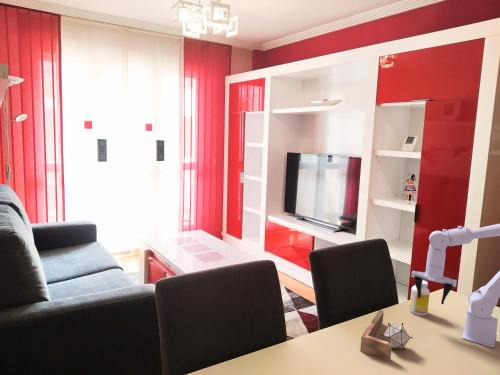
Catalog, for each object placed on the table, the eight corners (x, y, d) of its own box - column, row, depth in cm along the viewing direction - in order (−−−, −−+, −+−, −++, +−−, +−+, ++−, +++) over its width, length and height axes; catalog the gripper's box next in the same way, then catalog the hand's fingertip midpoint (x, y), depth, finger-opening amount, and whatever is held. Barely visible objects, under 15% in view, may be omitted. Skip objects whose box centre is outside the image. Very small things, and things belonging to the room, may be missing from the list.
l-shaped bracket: (403, 330, 134) (405, 316, 134) (389, 361, 115) (391, 345, 114) (378, 322, 139) (379, 309, 138) (360, 351, 119) (361, 335, 119)
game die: (399, 361, 121) (411, 349, 114) (374, 345, 124) (384, 332, 117) (407, 339, 127) (419, 326, 120) (383, 325, 130) (393, 311, 123)
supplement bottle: (431, 315, 148) (434, 283, 146) (418, 317, 145) (422, 285, 143) (417, 307, 154) (421, 277, 152) (405, 309, 151) (408, 279, 149)
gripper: (411, 262, 135) (407, 298, 137) (457, 272, 127) (452, 309, 129) (415, 257, 141) (410, 292, 143) (458, 266, 133) (453, 302, 135)
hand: (430, 300), depth 136 cm, fingers open, 7 cm apart
